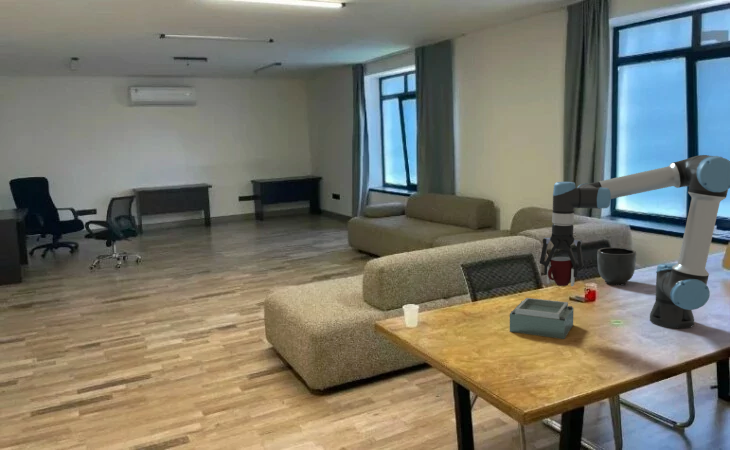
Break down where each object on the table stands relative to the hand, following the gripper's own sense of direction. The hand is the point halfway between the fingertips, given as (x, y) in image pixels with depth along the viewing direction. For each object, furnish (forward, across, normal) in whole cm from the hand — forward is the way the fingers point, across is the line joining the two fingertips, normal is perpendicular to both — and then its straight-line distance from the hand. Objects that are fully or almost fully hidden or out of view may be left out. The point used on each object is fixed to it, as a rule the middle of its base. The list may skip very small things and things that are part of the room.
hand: (560, 283), depth 212 cm
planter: (+18, -12, -78) cm, 81 cm away
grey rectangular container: (+18, +6, 0) cm, 19 cm away
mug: (+1, 0, 0) cm, 1 cm away
